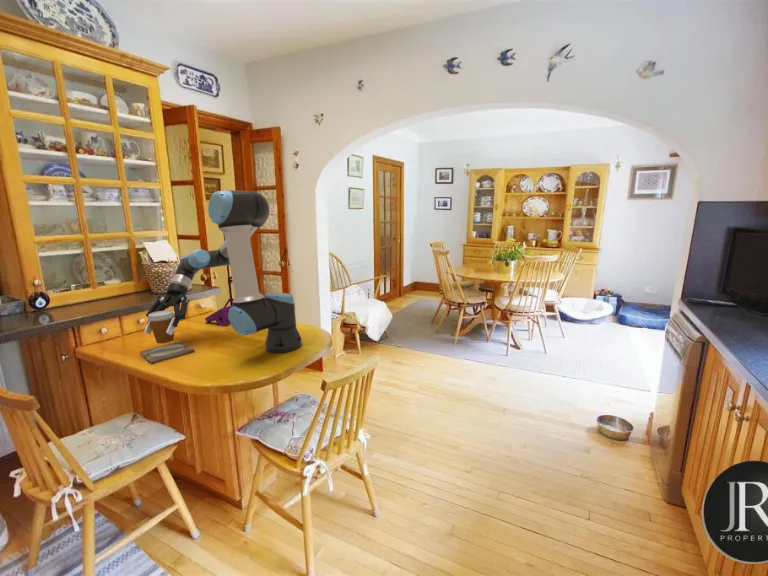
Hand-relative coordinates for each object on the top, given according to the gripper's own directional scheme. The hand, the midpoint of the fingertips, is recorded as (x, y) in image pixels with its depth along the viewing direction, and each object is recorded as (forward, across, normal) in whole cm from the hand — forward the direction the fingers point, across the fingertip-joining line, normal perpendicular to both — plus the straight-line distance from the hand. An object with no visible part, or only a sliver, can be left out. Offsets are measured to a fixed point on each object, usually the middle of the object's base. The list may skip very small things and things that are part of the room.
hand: (157, 333), depth 149 cm
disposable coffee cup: (+1, 0, -6) cm, 6 cm away
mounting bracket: (-25, +2, -39) cm, 46 cm away
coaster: (+5, 0, -9) cm, 10 cm away
